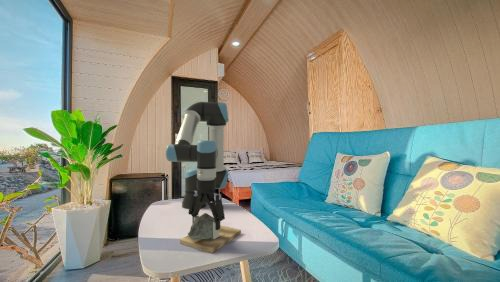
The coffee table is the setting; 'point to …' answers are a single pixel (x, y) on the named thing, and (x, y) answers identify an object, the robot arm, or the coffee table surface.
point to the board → (212, 240)
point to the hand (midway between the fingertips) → (205, 234)
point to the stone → (202, 227)
